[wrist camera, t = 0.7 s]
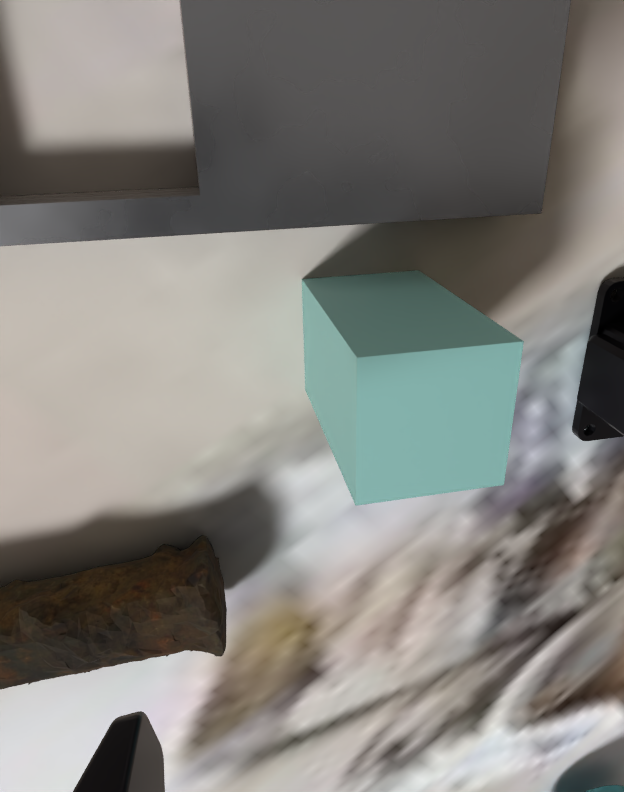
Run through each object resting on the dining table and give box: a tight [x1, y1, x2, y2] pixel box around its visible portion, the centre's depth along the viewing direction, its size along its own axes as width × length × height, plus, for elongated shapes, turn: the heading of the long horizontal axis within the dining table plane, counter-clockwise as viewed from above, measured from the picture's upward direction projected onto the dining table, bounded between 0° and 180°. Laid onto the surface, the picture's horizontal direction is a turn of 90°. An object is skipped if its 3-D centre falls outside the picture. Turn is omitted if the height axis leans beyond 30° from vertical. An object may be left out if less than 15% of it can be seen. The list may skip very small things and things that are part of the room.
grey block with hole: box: [0, 0, 571, 246], centre depth 15 cm, size 20×8×2 cm, turn 92°
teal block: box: [302, 270, 524, 505], centre depth 17 cm, size 4×4×7 cm
